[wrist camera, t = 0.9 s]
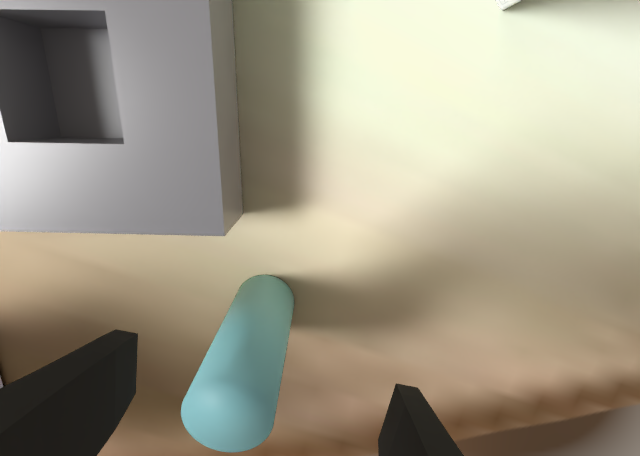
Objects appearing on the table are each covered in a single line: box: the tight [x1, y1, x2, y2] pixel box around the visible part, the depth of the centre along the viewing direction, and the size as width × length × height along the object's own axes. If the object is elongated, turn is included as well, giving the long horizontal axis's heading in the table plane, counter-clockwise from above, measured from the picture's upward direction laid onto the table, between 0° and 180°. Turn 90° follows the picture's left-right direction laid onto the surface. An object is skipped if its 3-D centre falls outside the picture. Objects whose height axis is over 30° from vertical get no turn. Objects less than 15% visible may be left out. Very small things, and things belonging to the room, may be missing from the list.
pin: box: [181, 275, 294, 452], centre depth 16 cm, size 3×3×8 cm
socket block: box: [0, 0, 243, 236], centre depth 15 cm, size 12×12×4 cm
